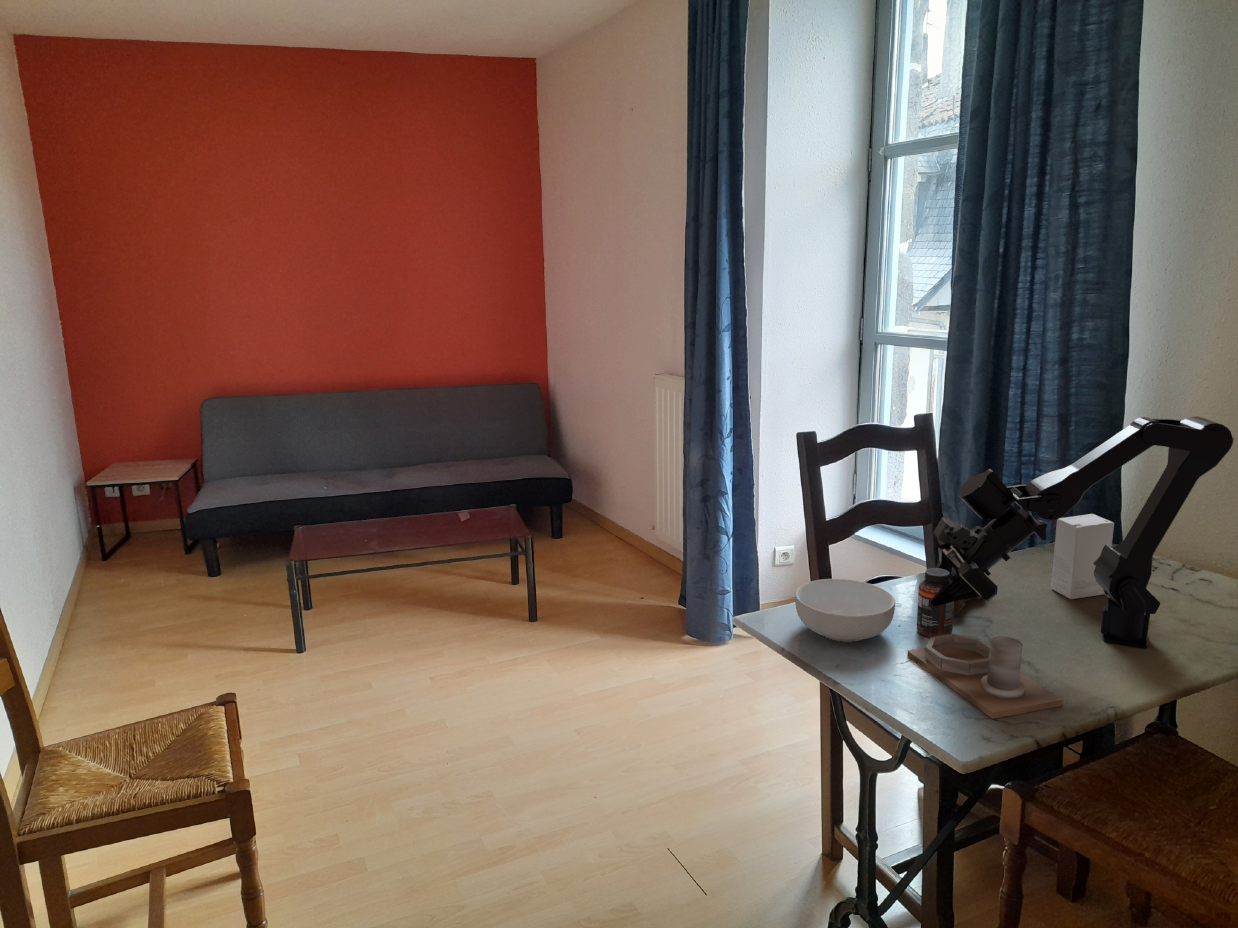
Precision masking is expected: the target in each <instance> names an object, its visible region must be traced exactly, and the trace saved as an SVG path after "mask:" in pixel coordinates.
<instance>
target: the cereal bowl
mask: <svg viewBox="0 0 1238 928" xmlns="http://www.w3.org/2000/svg"><path fill="white" fill-rule="evenodd" d="M794 598H795V599H794V600H795V609H796V613H797V616H798V618H799V619H800V621H801V622H802V624H803V625H805V627H807V628H808V629H810V630H811V631H813V632H815V633H816V634H818V635H820V636H823V637H824V636H825V637H824V638H826V639H828V638H829V640H831V639H832V640H831V641H835V640H836V641H835V642H840V641H843V642H842V643H853V642H852V641H855V642H860V641H862V640H867V639H871V638H874V637H876V636H878V635H881V634H882V633H883V632H884V631H885V630H886V629H888V627H890V625H891V624H892V621H893V619H894V615H895V610H896V599H895V597H894V596H893V594H892V593H890V592H889V591H888V590H885V589H884V588H882V587H879V586H877V585H875V584H872V583H869V582H865V581H860V580H854V579H847V578H824V579H817V580H816V579H815V580H811V581H809V582H808V581H807V582H806V583H804V584H801V586H799V587H798V588H797V589H796V591H795V596H794Z"/></svg>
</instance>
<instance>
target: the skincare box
mask: <svg viewBox="0 0 1238 928" xmlns="http://www.w3.org/2000/svg"><path fill="white" fill-rule="evenodd" d="M1114 528H1115V523H1114V522H1113V521H1111V520H1109V519H1106V518H1104V517H1101V516H1099V515H1096V514H1094V513H1089V514H1088V513H1087V514H1081V515H1075V516H1067V517H1061V518H1059V519H1057V520H1056V529H1055V539H1054V549H1053V560H1052V561H1053V562H1052V571H1051V580H1050V582H1051V583H1050V588H1051V590H1053V591H1055V592H1057V593H1059V594H1060V595H1062V596H1064V597H1066V598H1068V599H1069V600H1075V599H1082V598H1088V597H1094V596H1102V595H1106V594H1105V593H1104V590H1103V588H1102V587H1101V586H1100V585H1099V584H1098V583H1097V582H1096V579H1095V576H1094V570H1095V567H1096V566H1095V565H1094V564H1093V563H1094V562H1095V561H1096V560H1097V559H1098V558H1099V556H1100V555H1101V552H1102V549H1103V547H1104V546H1105V545H1106V544H1107V545H1109V546H1111V547H1112V546H1113V536H1114ZM1112 548H1113V547H1112Z"/></svg>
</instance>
